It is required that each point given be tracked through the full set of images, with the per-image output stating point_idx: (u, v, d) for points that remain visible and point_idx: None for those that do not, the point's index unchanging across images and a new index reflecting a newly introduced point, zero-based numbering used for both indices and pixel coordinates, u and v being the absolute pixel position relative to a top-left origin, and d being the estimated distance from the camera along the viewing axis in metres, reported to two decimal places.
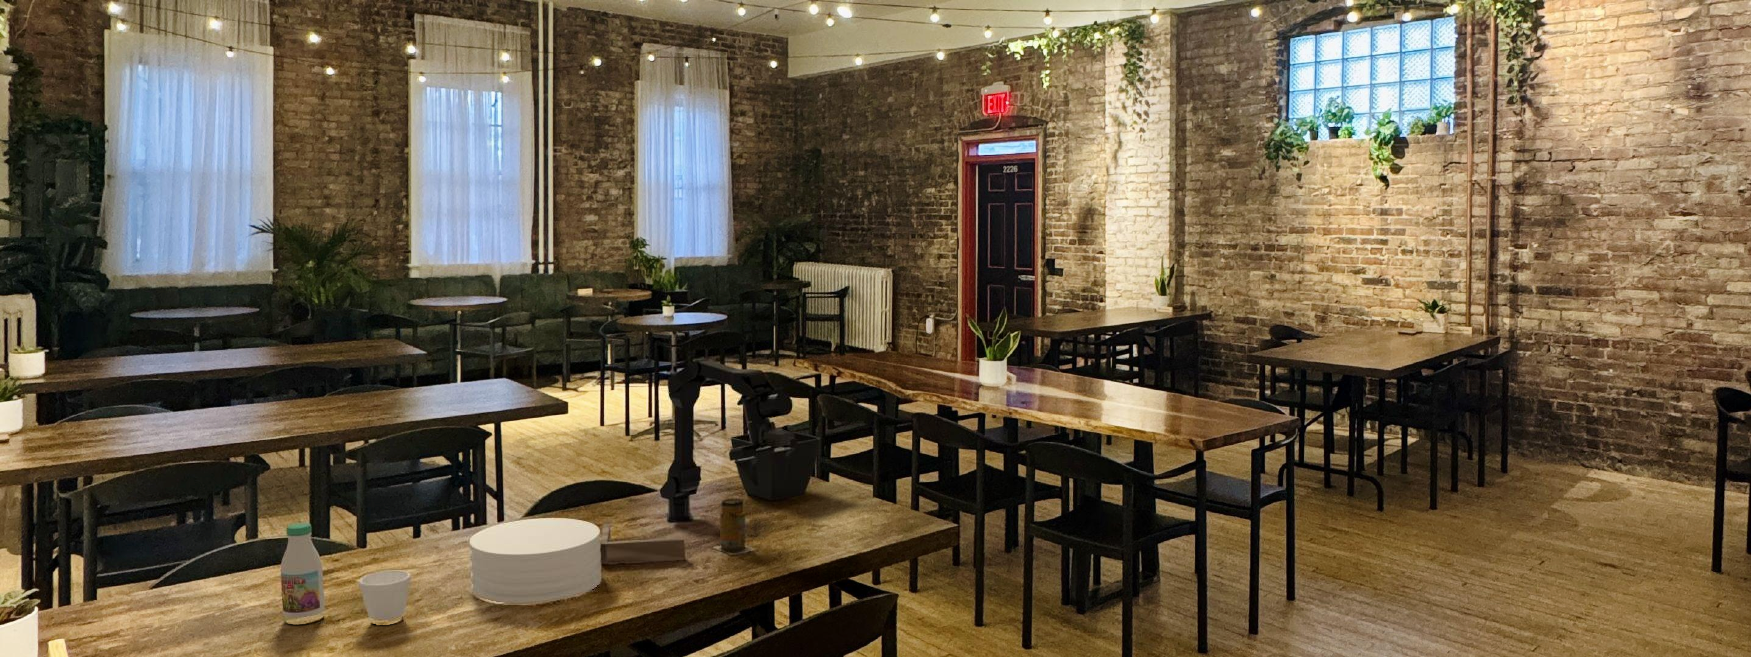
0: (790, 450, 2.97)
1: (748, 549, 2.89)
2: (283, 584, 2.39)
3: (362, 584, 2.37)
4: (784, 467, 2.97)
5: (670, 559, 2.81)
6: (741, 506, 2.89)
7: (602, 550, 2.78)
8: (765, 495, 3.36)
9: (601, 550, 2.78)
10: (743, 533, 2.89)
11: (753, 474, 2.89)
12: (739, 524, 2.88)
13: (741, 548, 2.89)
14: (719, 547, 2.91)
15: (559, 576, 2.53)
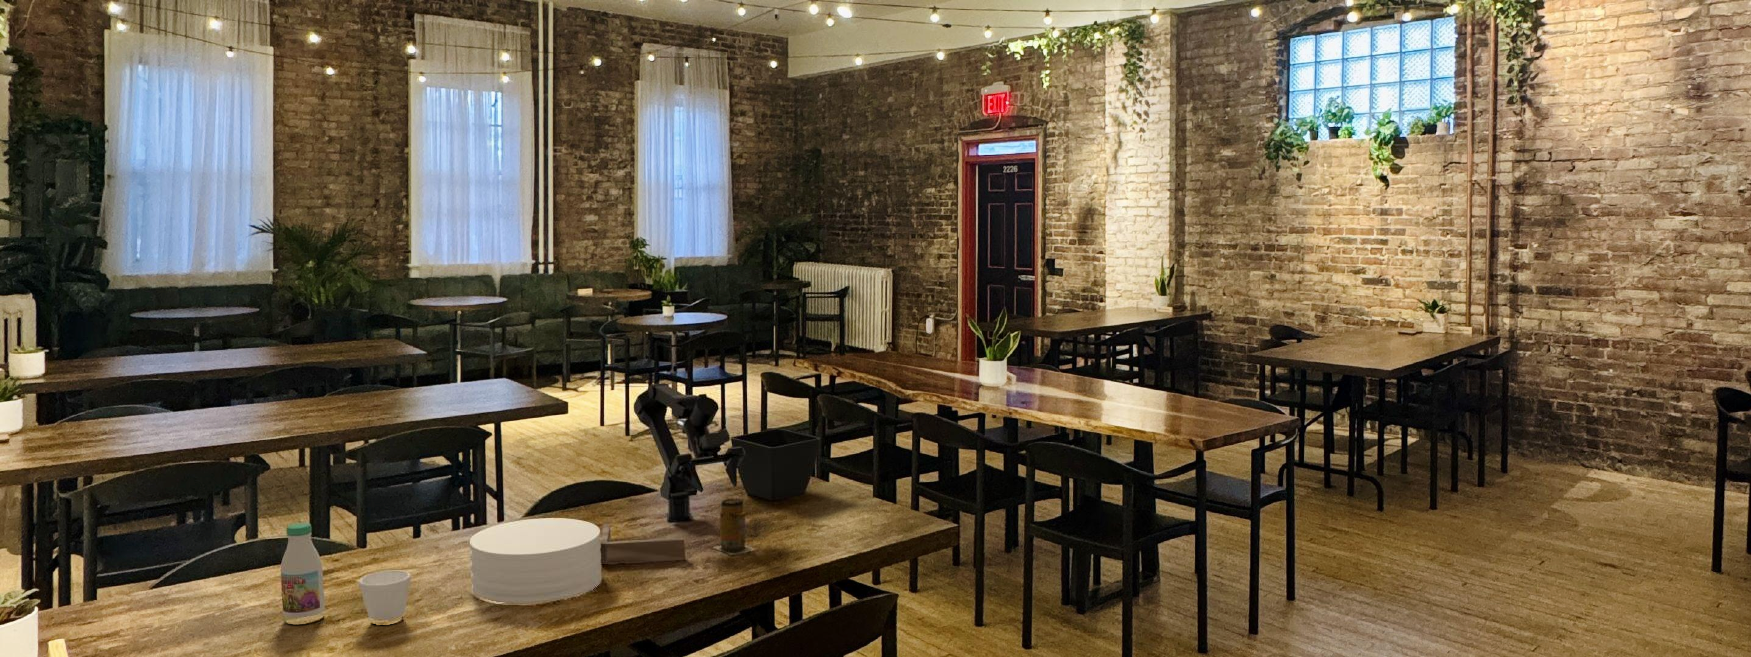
0: (736, 457, 3.00)
1: (748, 549, 2.89)
2: (283, 584, 2.39)
3: (362, 584, 2.37)
4: (734, 475, 2.99)
5: (670, 559, 2.81)
6: (741, 506, 2.89)
7: (602, 550, 2.78)
8: (765, 495, 3.36)
9: (601, 550, 2.78)
10: (743, 533, 2.89)
11: (695, 480, 2.93)
12: (739, 524, 2.88)
13: (741, 548, 2.89)
14: (719, 547, 2.91)
15: (559, 576, 2.53)
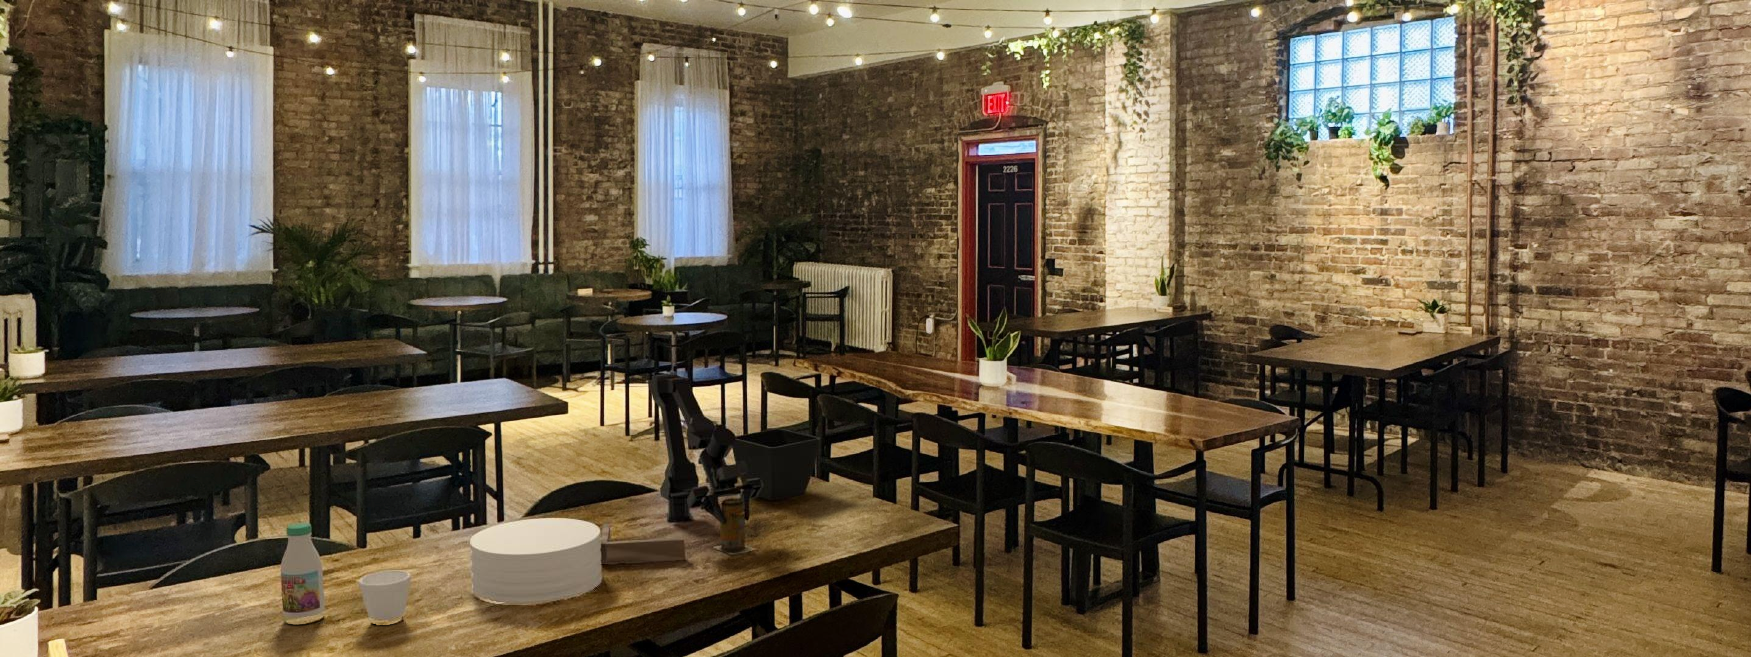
0: (748, 490, 2.92)
1: (748, 549, 2.89)
2: (283, 584, 2.39)
3: (362, 584, 2.37)
4: (746, 509, 2.91)
5: (670, 559, 2.81)
6: (741, 506, 2.89)
7: (602, 550, 2.78)
8: (765, 495, 3.36)
9: (601, 550, 2.78)
10: (743, 533, 2.89)
11: (718, 512, 2.87)
12: (739, 524, 2.88)
13: (741, 548, 2.89)
14: (719, 547, 2.91)
15: (559, 576, 2.53)
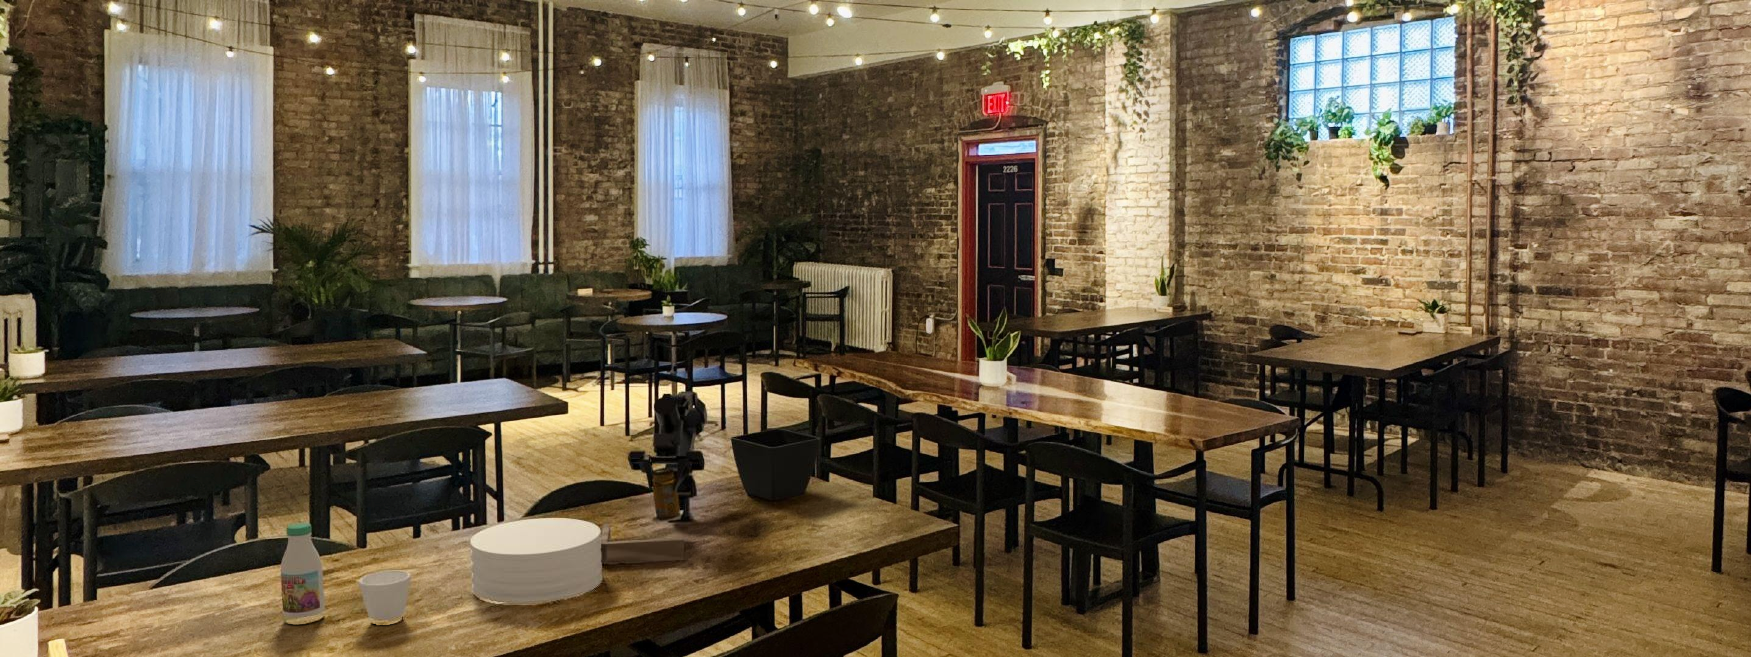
0: (682, 461, 2.97)
1: (675, 518, 2.95)
2: (283, 584, 2.39)
3: (362, 584, 2.37)
4: (676, 478, 2.96)
5: (670, 559, 2.81)
6: (667, 475, 2.95)
7: (602, 550, 2.78)
8: (765, 495, 3.36)
9: (601, 550, 2.78)
10: (671, 502, 2.96)
11: (647, 477, 2.97)
12: (663, 493, 2.95)
13: (669, 516, 2.96)
14: None
15: (560, 576, 2.53)
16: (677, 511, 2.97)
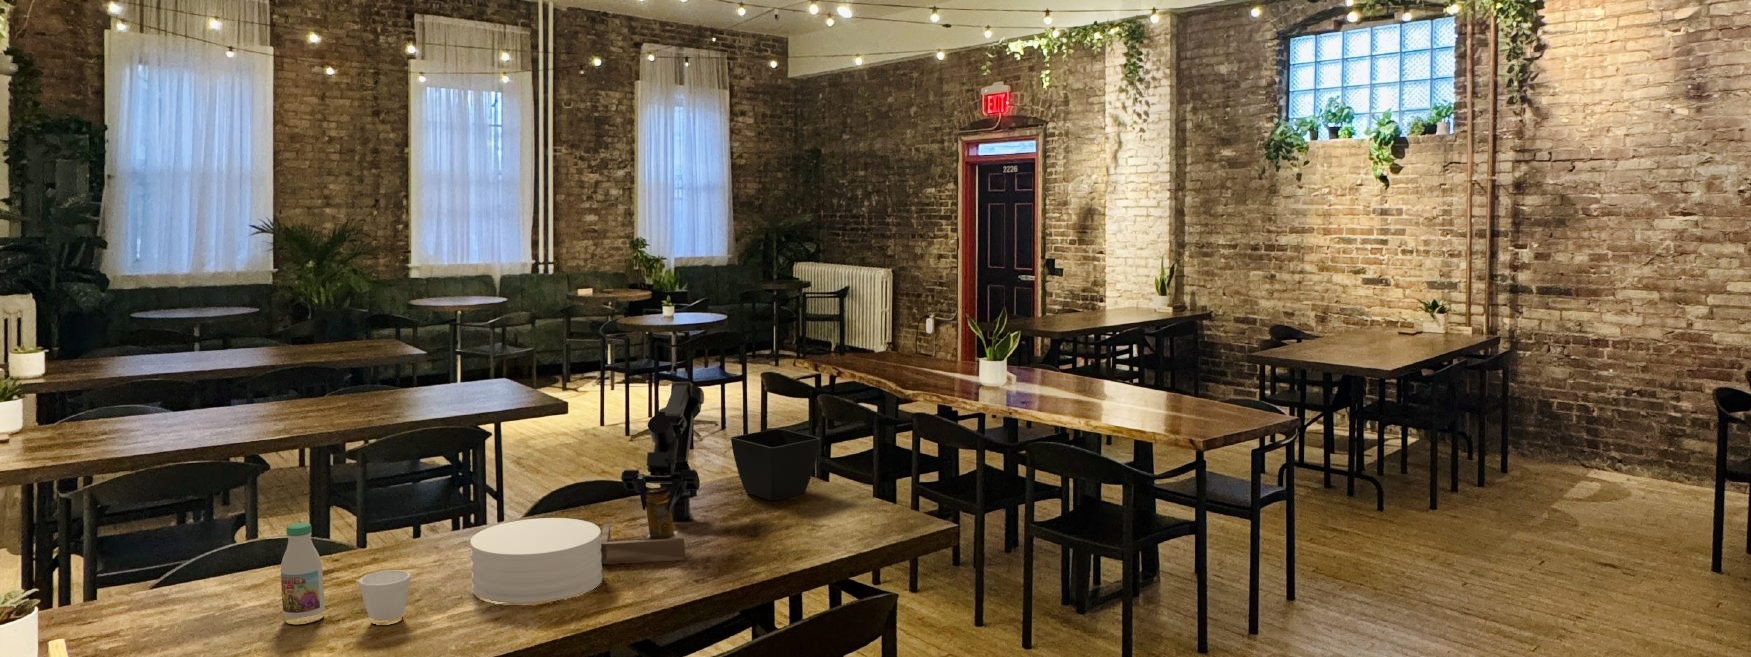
0: (677, 480, 2.91)
1: None
2: (283, 584, 2.39)
3: (362, 584, 2.37)
4: (670, 498, 2.90)
5: (670, 559, 2.81)
6: (660, 495, 2.89)
7: (602, 550, 2.78)
8: (765, 495, 3.36)
9: (601, 550, 2.78)
10: (664, 522, 2.89)
11: None
12: (657, 513, 2.89)
13: (663, 537, 2.89)
14: None
15: (560, 576, 2.53)
16: (671, 532, 2.91)
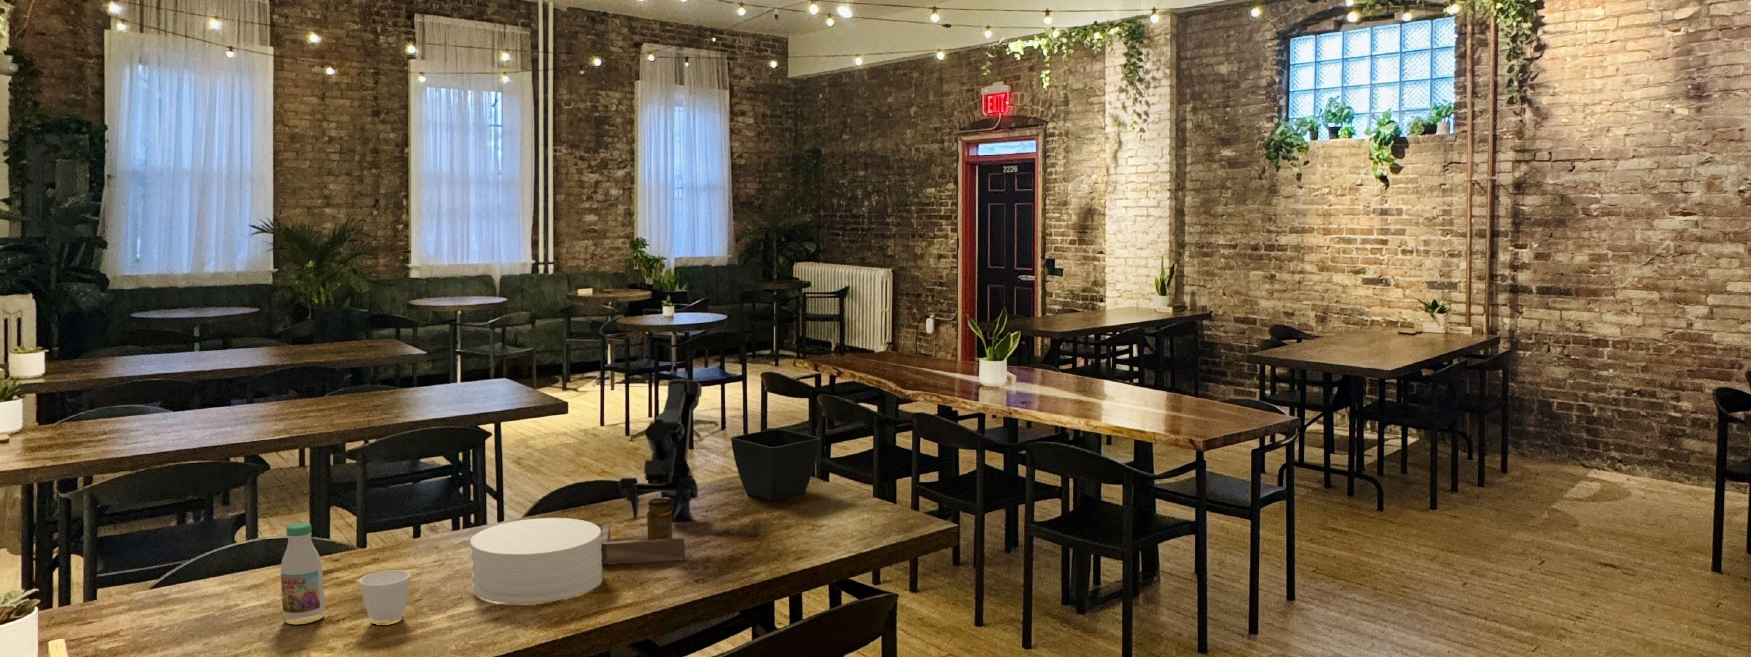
0: (681, 489, 2.88)
1: None
2: (283, 584, 2.39)
3: (362, 584, 2.37)
4: (674, 507, 2.87)
5: (670, 559, 2.81)
6: (663, 507, 2.86)
7: (602, 550, 2.78)
8: (765, 495, 3.36)
9: (601, 550, 2.78)
10: (664, 534, 2.87)
11: (632, 506, 2.88)
12: (658, 525, 2.86)
13: None
14: None
15: (560, 576, 2.53)
16: None
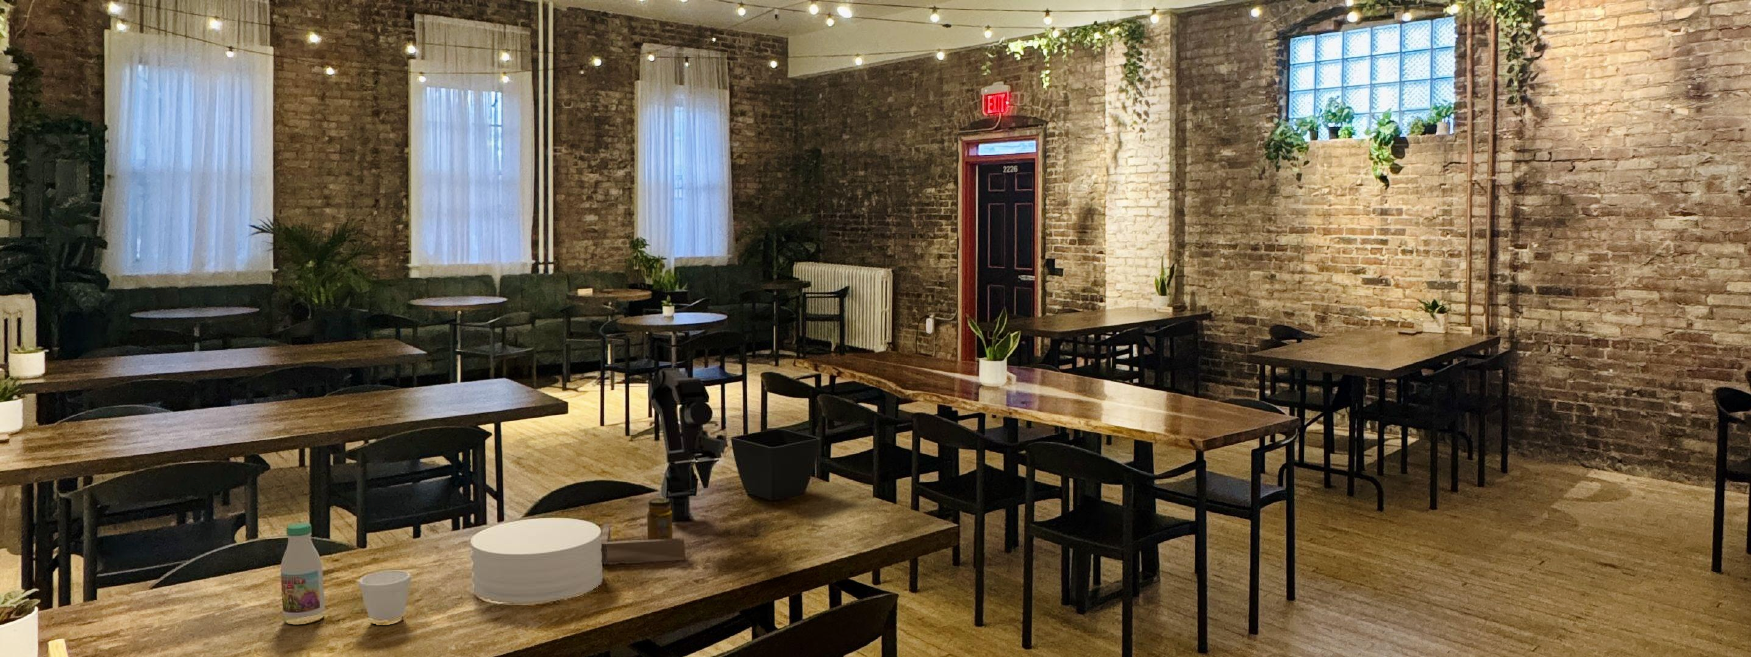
0: (716, 461, 3.05)
1: None
2: (283, 584, 2.39)
3: (362, 584, 2.37)
4: (708, 477, 3.04)
5: (670, 559, 2.81)
6: (663, 507, 2.86)
7: (602, 550, 2.78)
8: (765, 495, 3.36)
9: (601, 550, 2.78)
10: (664, 534, 2.87)
11: (688, 478, 2.94)
12: (658, 525, 2.86)
13: None
14: None
15: (560, 576, 2.53)
16: None
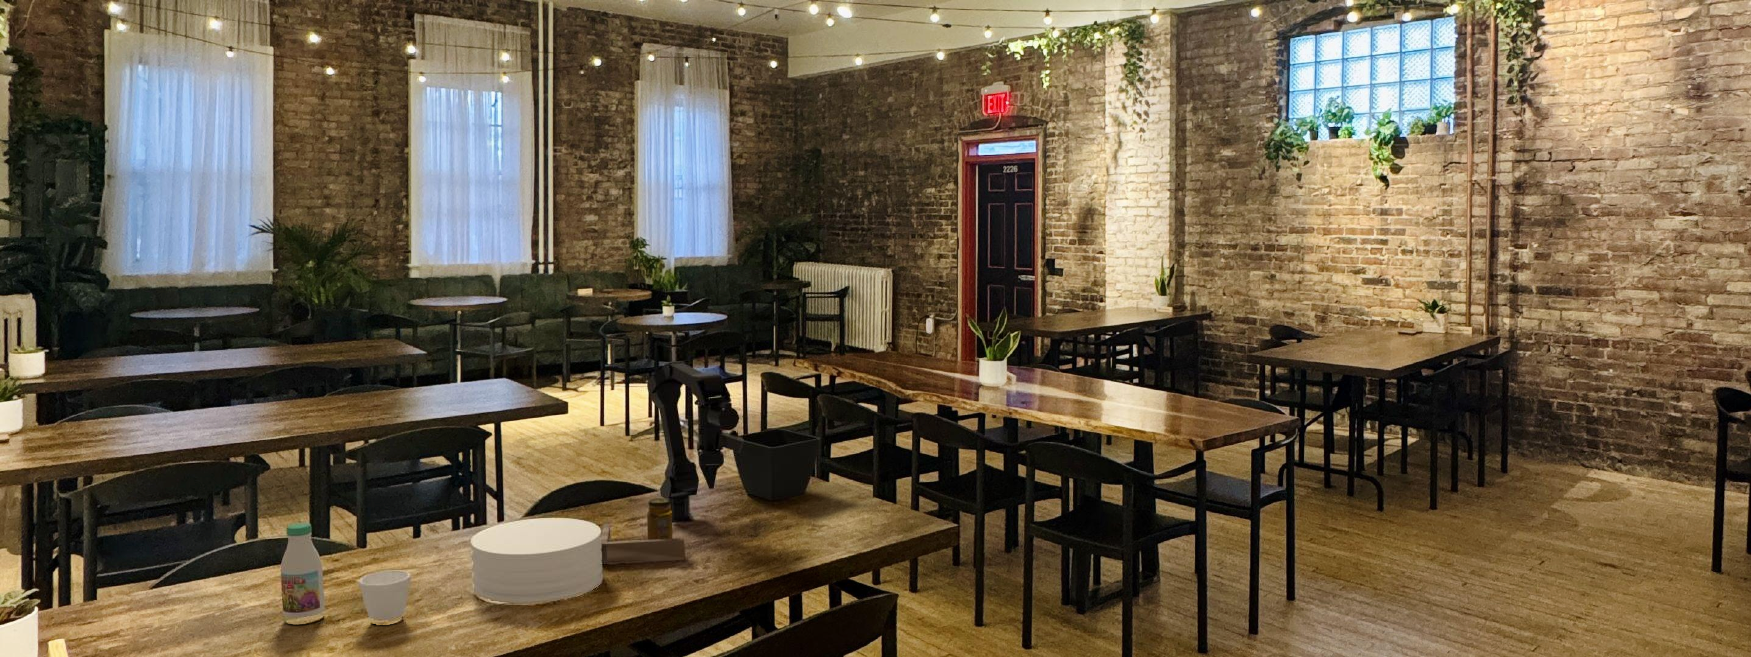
0: None
1: None
2: (283, 584, 2.39)
3: (362, 584, 2.37)
4: None
5: (670, 559, 2.81)
6: (663, 507, 2.86)
7: (602, 550, 2.78)
8: (765, 495, 3.36)
9: (601, 550, 2.78)
10: (664, 534, 2.87)
11: (714, 478, 2.96)
12: (658, 525, 2.86)
13: None
14: None
15: (560, 576, 2.53)
16: None
